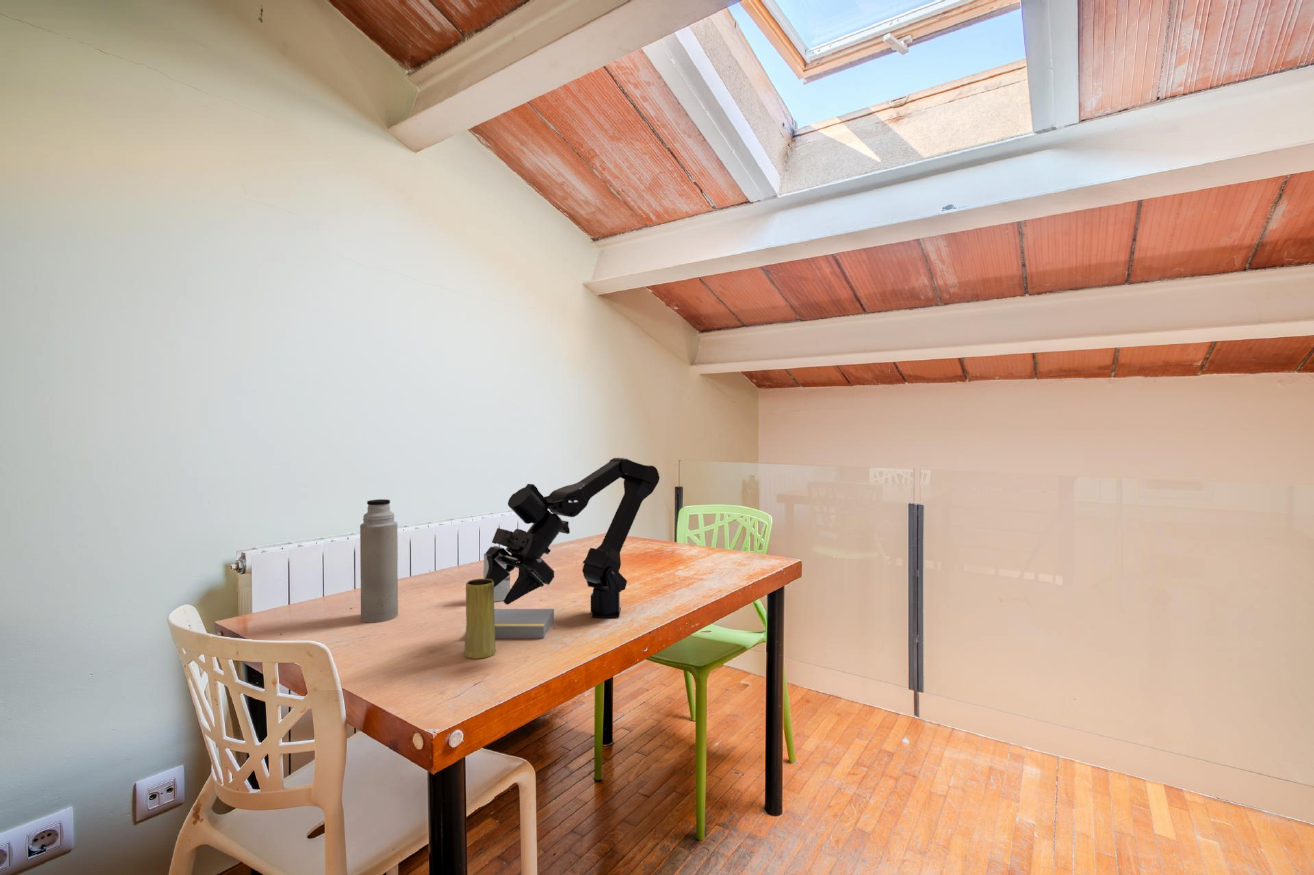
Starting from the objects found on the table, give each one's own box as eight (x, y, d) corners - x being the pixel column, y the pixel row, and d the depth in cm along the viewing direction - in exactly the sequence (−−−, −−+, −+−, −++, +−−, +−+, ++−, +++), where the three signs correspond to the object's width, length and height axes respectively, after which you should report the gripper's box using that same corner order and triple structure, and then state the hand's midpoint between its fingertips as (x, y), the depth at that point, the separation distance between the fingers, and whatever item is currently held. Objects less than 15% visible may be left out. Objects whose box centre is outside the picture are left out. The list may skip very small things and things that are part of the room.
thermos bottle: (382, 609, 139) (381, 497, 139) (405, 614, 136) (404, 498, 136) (353, 619, 132) (352, 500, 132) (376, 624, 129) (375, 502, 128)
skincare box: (487, 603, 144) (487, 556, 144) (482, 599, 148) (482, 553, 148) (511, 599, 148) (511, 553, 148) (505, 595, 151) (505, 550, 151)
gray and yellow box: (554, 619, 132) (554, 608, 132) (543, 638, 120) (543, 625, 120) (486, 619, 132) (485, 608, 132) (468, 638, 120) (468, 625, 120)
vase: (468, 647, 115) (468, 578, 114) (499, 646, 115) (498, 577, 115) (460, 660, 109) (460, 586, 108) (492, 658, 109) (492, 585, 109)
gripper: (493, 509, 124) (445, 567, 116) (542, 518, 111) (491, 584, 103) (524, 540, 130) (480, 597, 122) (573, 552, 117) (528, 617, 109)
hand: (493, 598), depth 114 cm, fingers open, 9 cm apart
